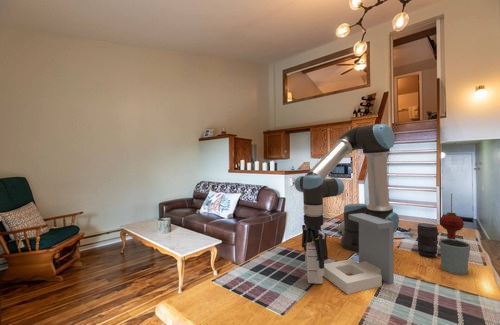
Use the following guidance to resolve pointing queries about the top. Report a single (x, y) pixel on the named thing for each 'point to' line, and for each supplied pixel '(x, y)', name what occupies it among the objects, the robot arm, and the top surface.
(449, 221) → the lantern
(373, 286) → the socket block
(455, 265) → the grey green cup
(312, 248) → the syrup box
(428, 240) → the camera lens
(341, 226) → the chubby cartoon animal
